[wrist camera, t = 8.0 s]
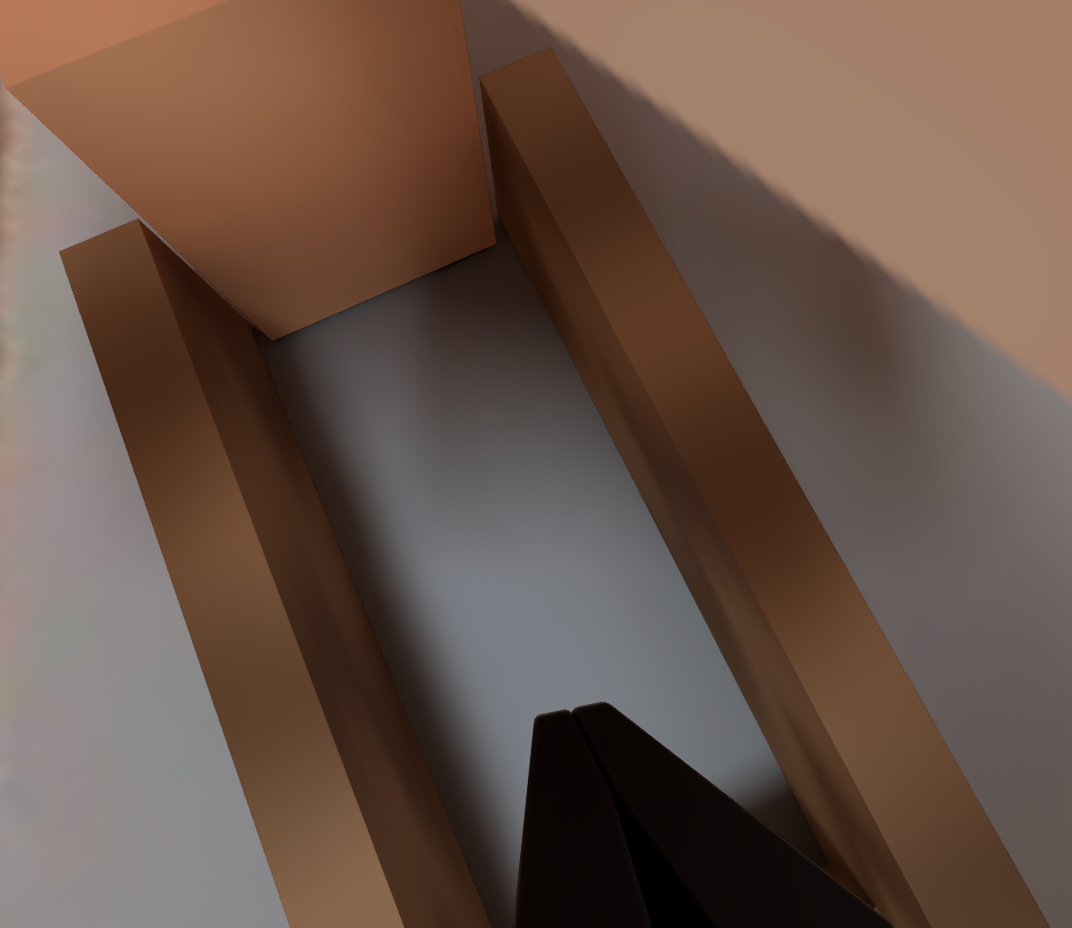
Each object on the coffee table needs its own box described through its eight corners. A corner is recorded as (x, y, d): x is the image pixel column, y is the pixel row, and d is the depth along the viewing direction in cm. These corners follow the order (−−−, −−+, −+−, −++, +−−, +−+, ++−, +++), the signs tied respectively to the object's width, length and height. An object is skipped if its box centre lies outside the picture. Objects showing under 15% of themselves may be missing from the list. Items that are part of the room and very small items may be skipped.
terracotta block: (496, 243, 16) (447, -87, 9) (272, 340, 16) (5, 87, 8) (403, 60, 18) (286, -376, 10) (193, 147, 17) (-106, -237, 9)
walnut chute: (931, 903, 13) (1120, 1051, 9) (492, 1140, 13) (460, 1427, 8) (551, 192, 17) (551, 47, 12) (192, 347, 16) (59, 251, 12)
